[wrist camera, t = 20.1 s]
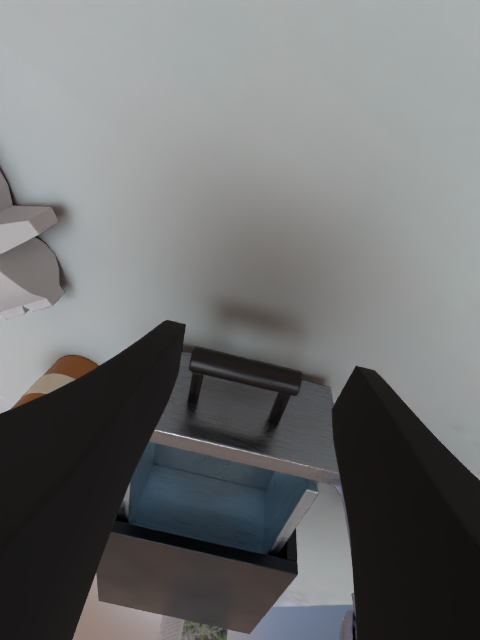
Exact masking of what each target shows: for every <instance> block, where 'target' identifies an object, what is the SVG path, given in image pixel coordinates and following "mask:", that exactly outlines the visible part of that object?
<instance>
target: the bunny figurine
mask: <svg viewBox="0 0 480 640" xmlns="http://www.w3.org/2000/svg"><path fill="white" fill-rule="evenodd" d="M57 222H58V219H57V217H56V215H55V213H54V211H53V209H52V207H40V206H14V205H13V204H12V199H11V195H10V191H9V187H8V184H7V182H6V180H5V179H4V177H3V175H2V173H1V171H0V314H1V315H2V316H3V317H4V318H5V319H10V318H13V317H17V316H20V315H23V314H25V313H26V312H27V311H29V310H31V311H32V312H34V311H37V310H41V309H44V308H48V307H51V306H53V305H54V304H55V303H56V302H57V301H58V300H59V299H60V298H61V297H62V296H63V295H64V293H65V292H64V291H63V290H62V288H61V287H60V286H59V266H58V263H57V260H56V256H55V254H54V253H53V252H52V250H51V249H50V248H49V247H48V246H47V245H46V244H45V243H44V242H42V241H40V240H39V239H37V238H35V236H37V235H39V234H41V233H42V232H44V231H45V230H47V229H48V228H50V227H51V226H52V225H54V224H55V223H57Z"/></svg>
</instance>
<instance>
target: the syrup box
mask: <svg viewBox="0 0 480 640" xmlns="http://www.w3.org/2000/svg"><path fill="white" fill-rule="evenodd" d="M227 631H228V629H224V628H220V627H215V626H211V625H206V624H202V623H197V622H192V621H188V620H183V619H179V618H174V617H170V616H165V615H163V617H162V621H161V625H160V629H159V633H158V637H157V640H227Z"/></svg>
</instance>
